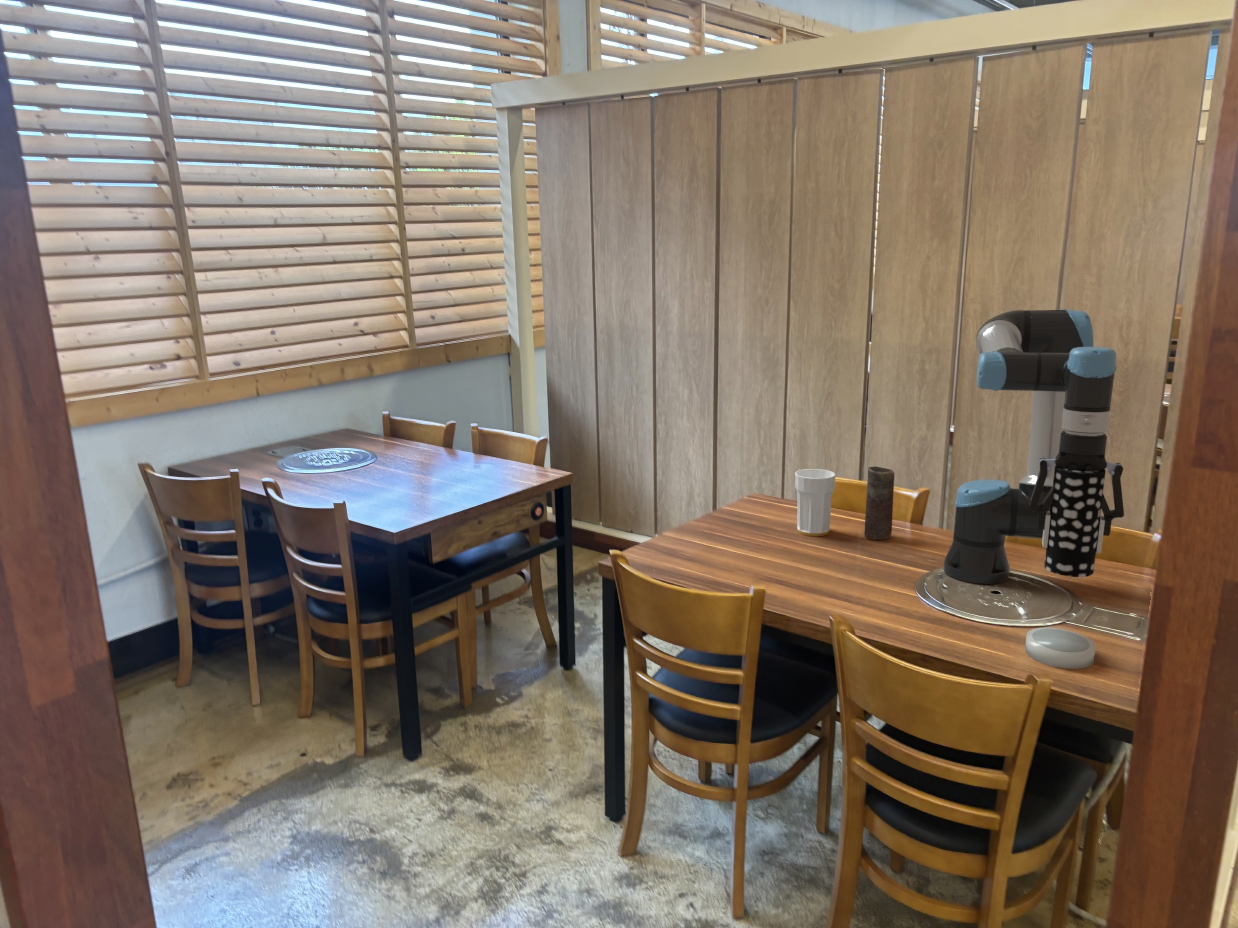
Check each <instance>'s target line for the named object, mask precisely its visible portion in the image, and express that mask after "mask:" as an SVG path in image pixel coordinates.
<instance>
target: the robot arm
mask: <svg viewBox="0 0 1238 928" xmlns="http://www.w3.org/2000/svg"><path fill="white" fill-rule="evenodd" d="M975 343H976V344H975V345H976V349H977V351H978V352H979V356H978V359H977V369H976V386H977V387H978V388H979V389H982V390H992V391H995V392H997V391H1023V392H1025V391H1029V392H1030V391H1031V392H1032V393H1033V394H1032V404H1031V415H1030V416H1031V417H1030V418H1031V419H1030V429H1029V430H1030V431H1029V443H1028V444H1029V445H1028V456H1027V458H1028V459H1027V469H1026V470H1027V471H1026V475H1025V476H1024V477H1023V478H1021V479H1020V480H1019V482H1018V488H1012V487H1011V485H1010V483H1009V482H1007V481H1006V480H1001V479H1000V480H999V479H978V480H977V479H976V480H972V481H967V482H964V483H962V484H961V485H960V486H959V487H958V489H957V491H956V500H955V502H954V506H955V514H954V526H953V537H952V542H951V545H950V546H949V549H948V551H947V553H946V556H945V558H944V561H943V572H944V573H945V574H946V575H947V576H949V577H951V578H953V579H956V580H959V581H962V582H967V583H972V584H973V583H974V584H980V585H981V584H982V585H983V584H984V585H986V584H988V585H991V584H993V585H994V584H1000V583H1004V582H1006V581H1008V580H1009V579H1010V573H1011V572H1010V571H1011V568H1010V563H1009V559H1008V556H1007V552H1006V549H1005V538H1006V537H1014V538H1024V539H1025V538H1026V539H1027V538H1029V539H1039V540H1041V544H1042V545H1041V546H1042V548H1045V549H1046V548H1047V544H1048V535H1049V525H1050V516H1051V515H1050V508H1051V505H1052V503H1053V495H1054V489H1053V479H1054V470H1055V465H1056V466H1057V467H1058V468H1062V469H1067V470H1075V471H1076V470H1086V471H1090V472H1094V471H1103V470H1104V469H1105V470H1106V469H1107V472H1108V475H1110V476H1111V477H1110V478H1111V488H1112V496H1113V497H1112V498H1113V505H1114V507H1113V508H1114V509H1110V507H1109V505H1108V501H1107V500H1106V498H1105V495H1104V493H1103V494H1102V503H1101V512H1102V514H1103V515H1100V522H1099V530H1098V538H1097V547H1096V554H1102V549H1103V540H1104V536H1106V537H1108V536H1110V535H1111V529H1112V522H1113V520H1114V519H1118V518H1123V517H1124V516H1125V509H1124V501H1123V500H1124V499H1123V491H1122V481H1121V477H1122V476H1123V475H1122V474H1123V472H1124V466H1123V465H1122V463H1120V462H1115V463H1113V462H1108V461H1107V460H1106V457H1105V456H1106V449H1107V439H1108V436H1107V434H1105V433H1107V432H1108V431H1109V430H1108V429H1109V422H1110V421H1109V420H1110V412H1111V405H1112V403H1111V402H1112V398H1113V397H1112V396H1113V388H1114V382H1115V381H1114V380H1115V374H1116V373H1115V372H1116V371H1117V365H1116V363H1117V362H1116V361H1117V353H1116V351H1115V350H1114V349H1112V348H1109V347H1103V346H1094V329H1093V324H1092V321H1091V318H1090V316H1089V314H1088V313H1087V312H1085V311H1083V310H1076V309H1075V310H1072V309H1045V310H1044V309H1041V310H1040V309H1039V310H1034V309H1033V310H1031V309H1030V310H1029V309H1027V310H1026V309H1025V310H1024V309H1018V310H1017V309H1016V310H1011V311H1007V312H1006V311H1005V312H1003V313H1000V314H997V315H995V316H993V317H992V318H989V319H988V320H987V321H985V322H984V323H983V324H982V325H981V326H980V328H979V329H978V331H977V333H976V337H975Z"/></svg>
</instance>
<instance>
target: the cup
mask: <svg viewBox="0 0 1238 928" xmlns="http://www.w3.org/2000/svg"><path fill="white" fill-rule="evenodd" d="M794 474H795V475H794V476H795V477H794V479H795V480H794V481H795V482H794V485H795V487H794V488H795V490H796V492H797V494H796V495H797V496H796V497H797V499H796V502H797V504H796V505H797V508H796V510H797V511H796V512H797V513H796V515H797V516H796V517H797V519H796V520H797V521H796V523H797V524H796V525H797V527H796V528H797V532H798V533H799V534H801V535H803V536H807V537H823V536H826V535H828V534H829V533H830V526H831V525H830V524H831V513H832V512H831V511H832V510H831V509H832V499H833V497H832V496H833V492H834V491H835V487H836V486H835V485H836V473H835V472H834V471H831V470H827V469H822V468H821V469H820V468H804V469H799V470H797V471H795V472H794Z"/></svg>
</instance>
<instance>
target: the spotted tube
mask: <svg viewBox="0 0 1238 928" xmlns="http://www.w3.org/2000/svg"><path fill="white" fill-rule="evenodd" d="M1105 480H1106V468H1105V469H1104V470H1103V471H1094V472H1090V471H1086V470H1076V471H1075V470H1067V469H1062V468H1058V467H1057V466H1056V465H1055V470H1054V479H1053V489H1054V495H1053V503H1052V505H1051V508H1050V515H1051V516H1050V525H1049V535H1048V544H1047V548H1045V556H1044V557H1045V558H1044V565H1043V566H1044V569H1046V570H1047V571H1048V572H1051V573H1052V574H1055V575H1059V576H1063V577H1069V578H1087V577H1090V576H1092V575H1094V571H1095V565H1096V564H1095V562H1096V556H1097V555H1096V554H1097V553H1096V547H1097V538H1098V530H1099V522H1100V516H1101V513H1102V509H1101V503H1102V494H1104V486H1105Z"/></svg>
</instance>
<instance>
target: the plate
mask: <svg viewBox="0 0 1238 928" xmlns="http://www.w3.org/2000/svg"><path fill="white" fill-rule="evenodd" d="M1024 651H1025V653H1026V654H1027V655H1028V656H1029V657H1030V658H1031V659H1033V660H1034V661H1036V662H1039V663H1041V664H1044V665H1046V666H1050V667H1055V668H1059V669H1067V670H1068V669H1069V670H1079V669H1085V668H1086V669H1087V668H1089V667H1091V666H1093V664H1094V662H1095V661H1094V660H1095V656H1096V644H1095V643H1094V641H1093V640H1092V639H1090V637H1087V636H1086V635H1084V634H1081V633H1078V632H1076V631H1073V630H1070V629H1069V630H1068V629H1066V628H1058V627H1049V626H1048V627H1037V628H1033V629H1030V630H1029V631H1027V633H1026V638H1025V649H1024Z"/></svg>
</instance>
